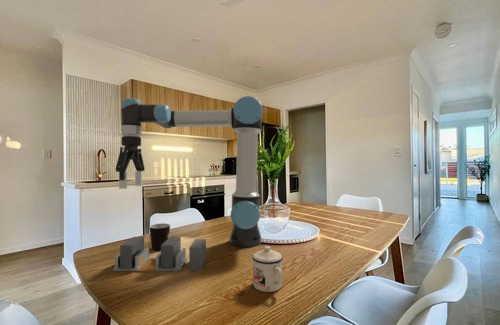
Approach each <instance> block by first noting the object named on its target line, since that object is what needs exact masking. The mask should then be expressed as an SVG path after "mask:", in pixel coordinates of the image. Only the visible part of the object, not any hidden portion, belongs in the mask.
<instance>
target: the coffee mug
mask: <svg viewBox="0 0 500 325" xmlns="http://www.w3.org/2000/svg"><path fill="white" fill-rule="evenodd" d="M170 230H171V223H165V222H164V223H154V224H150V225H149V235H150V244H151V245H150V246H151V250H152V251H154V252H161V245H162V244H163V243H164V242H165V241H166V240H167V239H169V238H170V232H171V231H170Z"/></svg>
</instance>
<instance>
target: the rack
mask: <svg viewBox="0 0 500 325" xmlns="http://www.w3.org/2000/svg"><path fill="white" fill-rule="evenodd" d="M181 240H182V238H181V236H169V239H167V240H166V241H165V242H164V243H163V244H162V245H161V251H159V253H158V254H156V256H155V258H150V250H149V247H145V236H133V237H131V238H129V239H128V240H127V241H125V242H123V243H121V244H120V245H119V253H118V254H117V255H115V256H114V267H113V272H139V273H140V272H143V273H144V272H146V273H147V272H148V273H149V272H152V273H153V272H154V273H155V272H181V271H182V269H183V268H184V266H185V265H186V263H187V261H188V259H187V257H186V249H187V248H186V247H182V246H181V245H182V242H181ZM181 247H182V248H181Z"/></svg>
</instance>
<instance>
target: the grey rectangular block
mask: <svg viewBox="0 0 500 325" xmlns="http://www.w3.org/2000/svg"><path fill="white" fill-rule="evenodd" d="M188 249H189V251H188V253H189V256H188V258H189V259H188V260H189V263H188V264H189V266H188V268H189V270H188V271H189V272H191V271H198V272H200V271H202V269H203V267H204V265H205V262H206V260H207V239H206V238H195V239H194V240H193V241H192V244H191V245H189V248H188Z"/></svg>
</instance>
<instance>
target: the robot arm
mask: <svg viewBox="0 0 500 325" xmlns="http://www.w3.org/2000/svg"><path fill="white" fill-rule="evenodd" d="M263 108H264V107H263V105H262V103H261V101H260V100H259V99H258V98H256V97H254V96H251V95H246V96H242V97H240V98H239V99H238V100H237V101H236V102H235V103H234V106H233V107H230V108H229V109H222V110H219V109H218V110H217V109H213V110H212V109H211V110H207V109H206V110H205V109H204V110H203V109H202V110H201V109H200V110H171V109H170V106H169V105H168V104H162V103H158V104H157V103H155V104H142V101H141V100H139V99H137V98H130V97H129V98H123V100H122V101H121V108H120V111H121V112H120V113H121V129H120V131H121V135H122V136H121V138H120V139H121V142H120V144H121V146H120V148H119V155H118V159H117V162H116V166H115V171H116V172H117V173H118V176H119V177H118V178H119V180H118V182H119V183H118V184H119V185H118V189H123V190H125V189H128V172H127V169H128V167H129V165H130V162H131V161H132V162H133V165H134V167H135V171H134V173H135V174H134V177H135V179H134V180H135V184H134V185H135V187H136V186H138V187H140V186H141V187H142V186H143V172H144V171H145V164H144V160H143V159H144V158H143V154H142V148H139V147H141V146H142V138H141V137H142V123H143V124H144V123H146V124H147V123H153V124H156V125H159V127H162V128H164V129H171V128H177V127H178V128H181V127H182V128H186V127H189V128H190V127H192V128H193V127H194V128H195V127H200V128H201V127H229V128H231V129H233V131H234V132H235V133H236V135H237V139H236V169H235V170H236V174H235V175H236V176H235V190H234V192H233V193H232V194H231V195H232V196H231V210H230V219H231V222H232V223H233V225H232V229H231V232H230V235H229V244H231V245H233V246H235V247H236V246H237V247H245V248H246V247H256V246H258V245H260V244H261V243H262V236H261V232H260V229H259V226H258V225H259V221H260V218H261V211H260V210H261V209H260V200H261V199H260V197H261V195H260V194H259V193H258V191H257V178H258V177H257V176H258V175H257V173H258V135H259V134H260V133H261V132H262V123H263V122H262V121H263V119H262V117H263V113H264V109H263Z"/></svg>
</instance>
